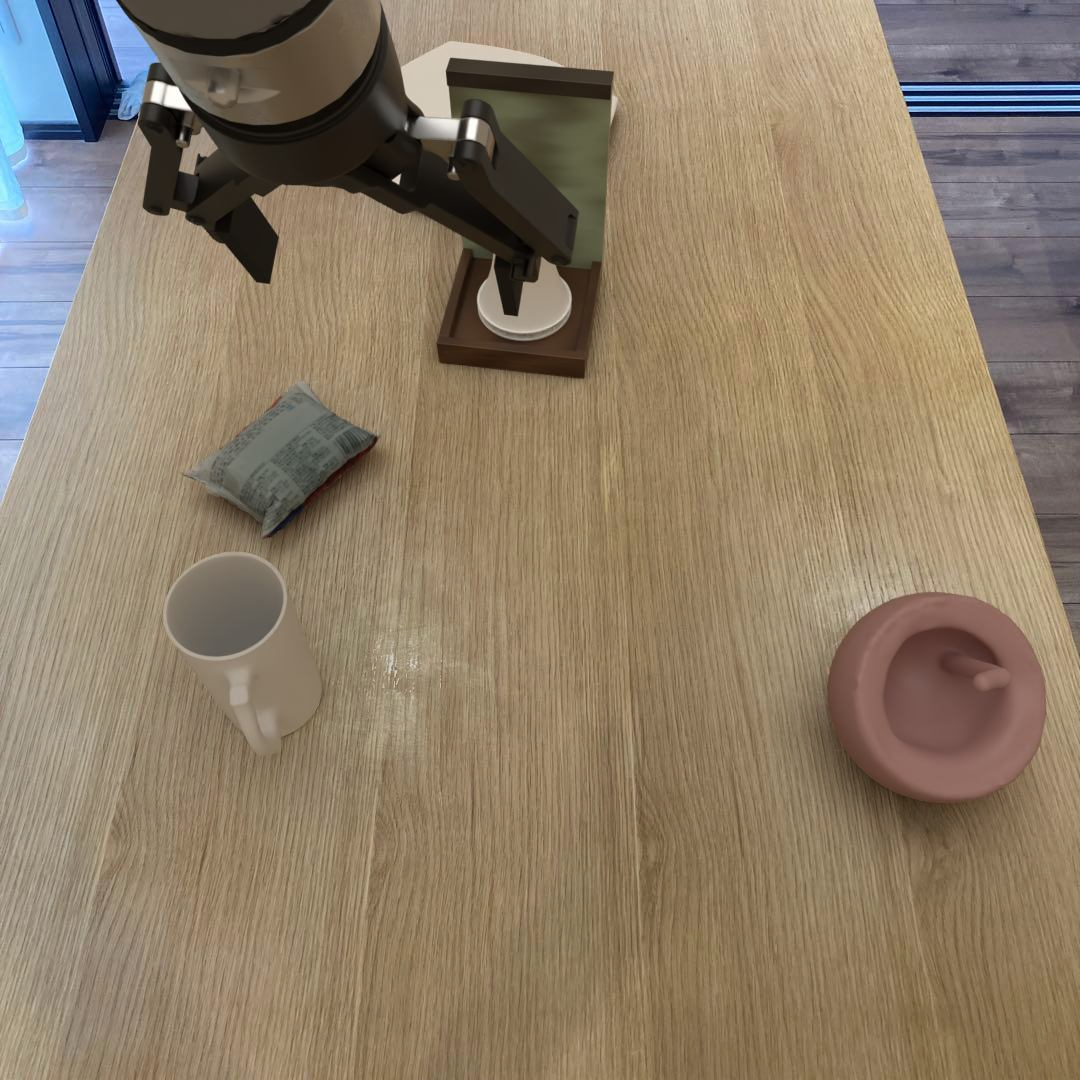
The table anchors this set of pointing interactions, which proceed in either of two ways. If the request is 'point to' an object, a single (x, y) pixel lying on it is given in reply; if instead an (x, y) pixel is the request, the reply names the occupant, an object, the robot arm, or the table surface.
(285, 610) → the mug
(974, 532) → the table surface
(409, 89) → the plate
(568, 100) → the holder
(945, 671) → the mortar and pestle
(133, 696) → the table surface
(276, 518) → the packaged food
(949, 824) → the table surface
